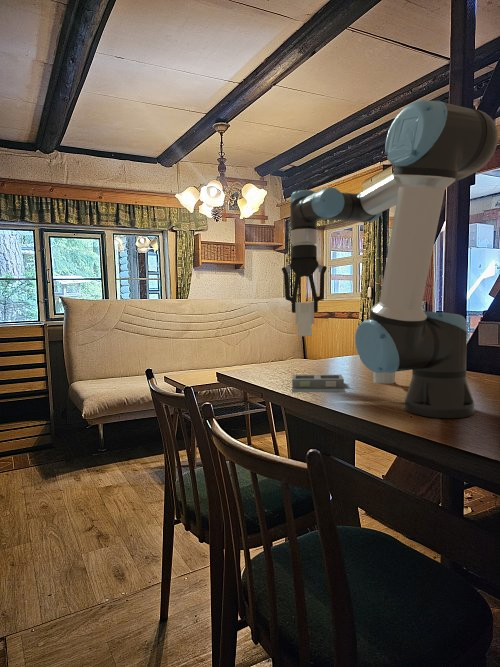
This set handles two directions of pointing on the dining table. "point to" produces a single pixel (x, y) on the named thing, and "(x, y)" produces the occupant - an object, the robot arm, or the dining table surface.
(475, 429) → the dining table surface
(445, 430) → the dining table surface
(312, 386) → the panel
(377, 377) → the cup
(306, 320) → the plug
